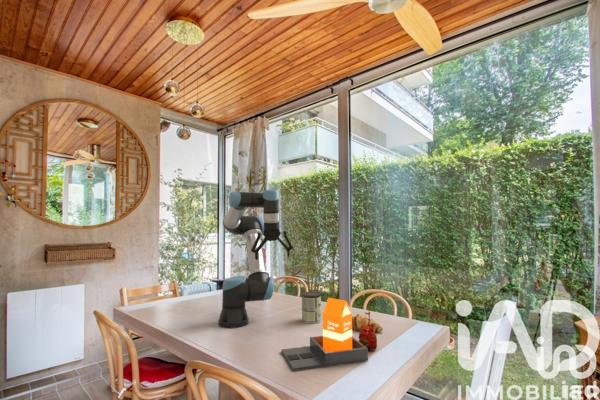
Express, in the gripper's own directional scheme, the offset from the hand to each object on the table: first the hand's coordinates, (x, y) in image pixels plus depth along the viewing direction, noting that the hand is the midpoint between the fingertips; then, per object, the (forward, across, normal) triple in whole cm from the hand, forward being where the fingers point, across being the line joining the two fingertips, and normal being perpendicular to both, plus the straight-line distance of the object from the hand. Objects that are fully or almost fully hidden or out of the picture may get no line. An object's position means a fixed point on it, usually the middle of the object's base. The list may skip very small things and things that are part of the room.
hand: (272, 264), depth 150 cm
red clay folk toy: (+28, +33, -36) cm, 56 cm away
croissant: (+32, +41, -13) cm, 54 cm away
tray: (+26, +12, -39) cm, 48 cm away
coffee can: (+34, +21, +5) cm, 40 cm away
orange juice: (+26, +18, -38) cm, 50 cm away
